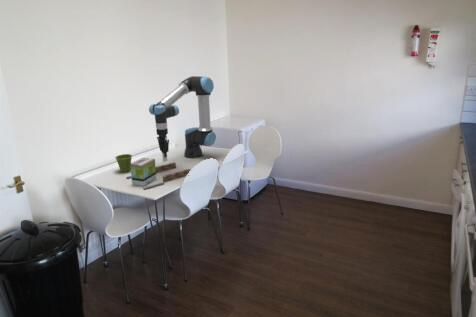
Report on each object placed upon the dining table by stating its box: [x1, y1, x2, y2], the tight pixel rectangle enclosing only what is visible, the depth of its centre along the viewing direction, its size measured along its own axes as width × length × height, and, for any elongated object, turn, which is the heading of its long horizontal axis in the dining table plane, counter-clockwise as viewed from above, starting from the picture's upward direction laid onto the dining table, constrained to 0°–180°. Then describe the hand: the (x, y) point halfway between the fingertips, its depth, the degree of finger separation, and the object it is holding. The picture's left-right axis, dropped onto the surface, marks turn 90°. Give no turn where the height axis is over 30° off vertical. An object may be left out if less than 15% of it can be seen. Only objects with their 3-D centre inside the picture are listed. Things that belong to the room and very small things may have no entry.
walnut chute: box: [156, 162, 191, 183], centre depth 250 cm, size 21×22×4 cm
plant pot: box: [114, 153, 133, 173], centre depth 258 cm, size 12×12×11 cm
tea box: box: [130, 157, 157, 187], centre depth 236 cm, size 15×10×15 cm, turn 161°
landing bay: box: [125, 175, 165, 191], centre depth 239 cm, size 14×28×1 cm, turn 40°
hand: (165, 161), depth 246 cm, fingers closed
